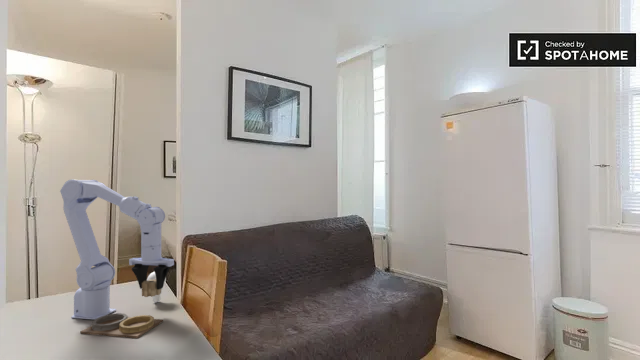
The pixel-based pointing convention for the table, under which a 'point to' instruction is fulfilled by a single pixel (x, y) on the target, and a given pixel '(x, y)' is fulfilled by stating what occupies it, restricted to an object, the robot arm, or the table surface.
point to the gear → (150, 288)
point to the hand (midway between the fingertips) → (151, 288)
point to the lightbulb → (158, 297)
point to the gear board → (116, 331)
